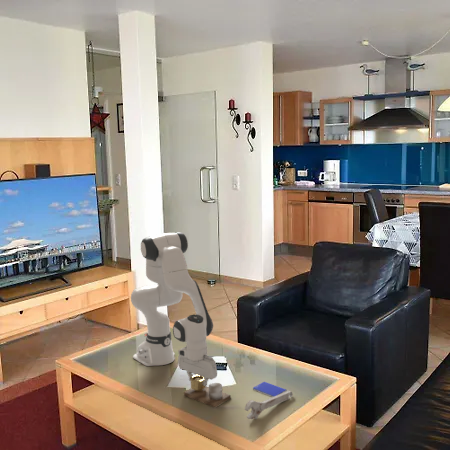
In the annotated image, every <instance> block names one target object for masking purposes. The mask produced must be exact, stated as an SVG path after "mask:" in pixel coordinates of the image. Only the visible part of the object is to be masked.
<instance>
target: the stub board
mask: <svg viewBox="0 0 450 450" xmlns="http://www.w3.org/2000/svg"><path fill="white" fill-rule="evenodd" d="M195 380H202V379H201V378H196V379H195ZM183 395H184V397H186V398H187V397H188V398H190V399H192V400H194V401H198V402H200V403H202V404H204V405H208V406H210V407H213V408H217V407H218V406H220V405H222V404H223V403H225V402H227V401H229V400H230V399H231V398H232V397H231V394H229V393H226V392H224V391H223V385H222V383H220V382H212V383H210V384H208V385H207V386H206V387H205V388H204V389H202V390H194V389H192V388H191V387H190V388H189V389H187V390H185V391H184V392H183Z"/></svg>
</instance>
